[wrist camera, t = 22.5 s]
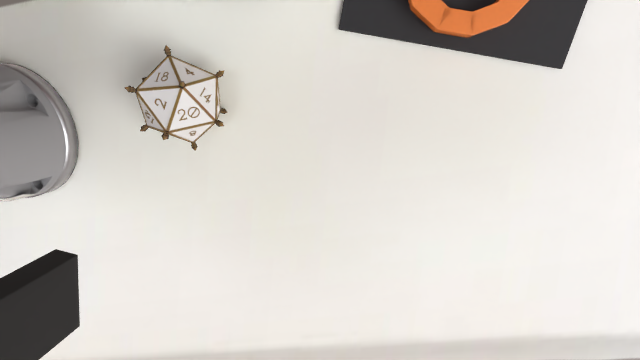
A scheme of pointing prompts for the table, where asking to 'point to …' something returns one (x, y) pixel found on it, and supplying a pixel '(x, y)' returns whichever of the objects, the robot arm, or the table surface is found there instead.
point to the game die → (179, 99)
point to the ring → (464, 16)
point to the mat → (501, 42)
